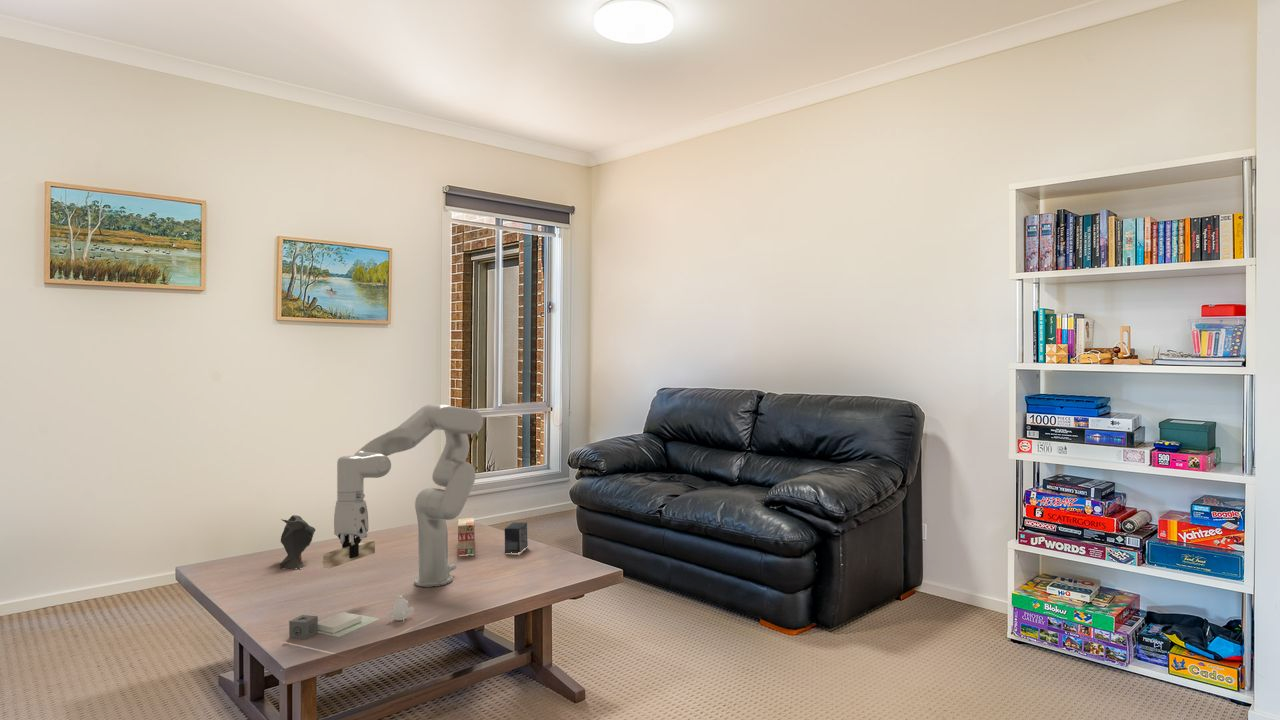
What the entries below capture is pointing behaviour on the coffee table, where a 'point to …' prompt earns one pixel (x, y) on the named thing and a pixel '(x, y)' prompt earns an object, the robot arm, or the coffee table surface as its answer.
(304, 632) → the dice cube
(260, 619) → the coffee table surface
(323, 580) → the coffee table surface
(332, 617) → the cream tile
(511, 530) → the small box
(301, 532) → the dark grey sculpture
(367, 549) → the tan wavy bar
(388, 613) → the rocket toy
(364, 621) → the sage mat
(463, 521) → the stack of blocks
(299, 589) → the coffee table surface
